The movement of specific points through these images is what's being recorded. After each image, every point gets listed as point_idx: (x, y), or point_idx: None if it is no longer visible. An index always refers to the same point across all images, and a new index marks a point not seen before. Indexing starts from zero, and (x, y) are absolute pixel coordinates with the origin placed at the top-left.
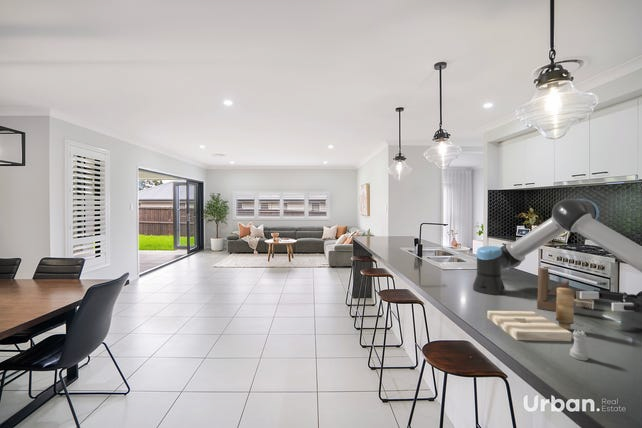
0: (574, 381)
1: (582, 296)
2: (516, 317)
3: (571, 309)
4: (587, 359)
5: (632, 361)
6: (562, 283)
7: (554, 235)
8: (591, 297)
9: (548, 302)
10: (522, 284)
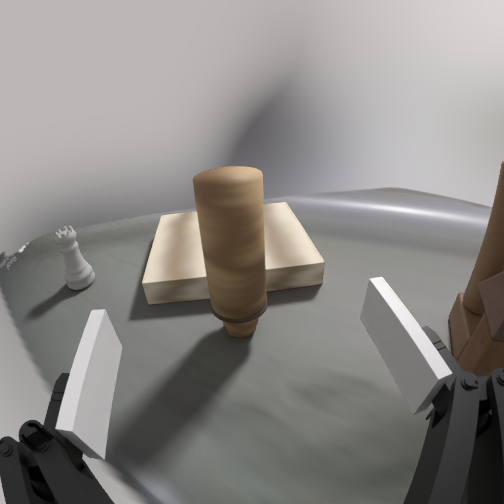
0: (44, 251)
1: (367, 311)
2: None
3: (204, 261)
4: (68, 285)
5: (37, 358)
6: None
7: None
8: (393, 362)
9: (464, 316)
10: None
